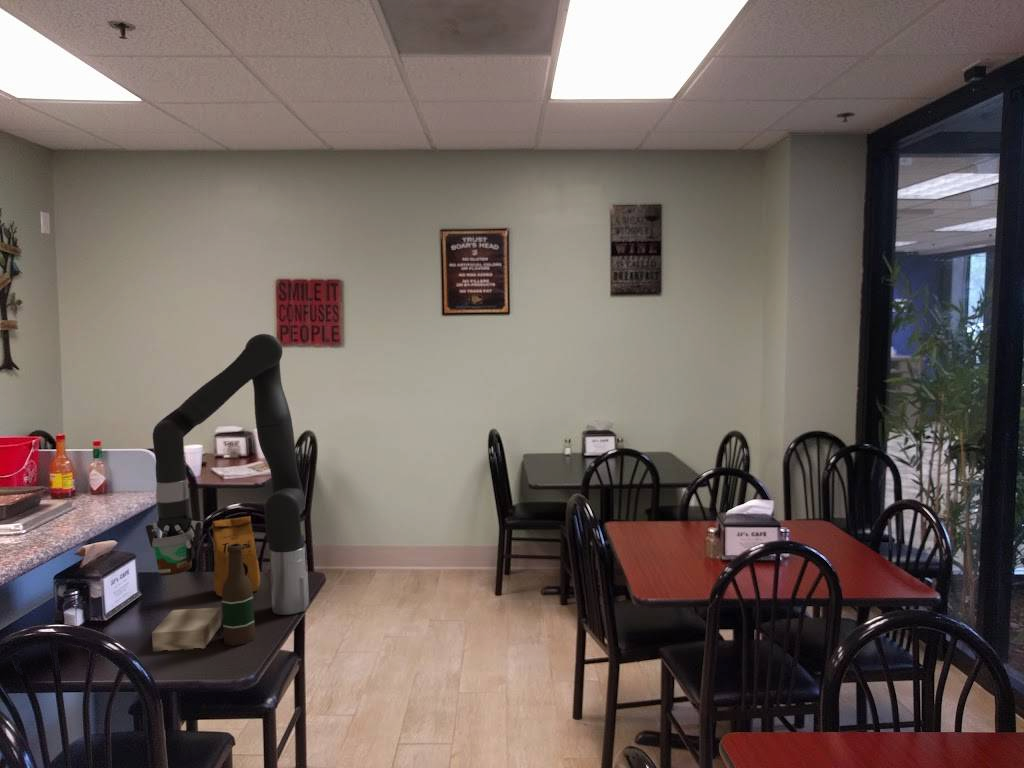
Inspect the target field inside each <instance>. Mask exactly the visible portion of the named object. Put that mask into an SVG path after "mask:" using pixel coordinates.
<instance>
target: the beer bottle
mask: <svg viewBox="0 0 1024 768" xmlns="http://www.w3.org/2000/svg"><path fill="white" fill-rule="evenodd" d="M242 549H243V547H242V545H241V544H237V543H236V544H231V545H229V546H228V548H227V551H228V552H229V566H228V577H227V579H226V581H225V582H224V585H223V588H222V596H221V614H222V626H223V639H224V640H223V641H224V644H225V645H230V646H234V645H236V646H239V645H240V644H242V645H246V643H247V644H249V643H250V642H252V641H253V639H254V640H255V639H256V638H255V637H256V629H255V627H256V626H255V625H256V623H255V608H254V607H255V606H254V591H253V590H252V585H251V582H250V580H249V579H248V578H247V577H246V575H245V573H244V568H243V560H242V551H241V550H242ZM251 640H252V641H251ZM240 646H241V645H240ZM234 647H235V646H234Z"/></svg>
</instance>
